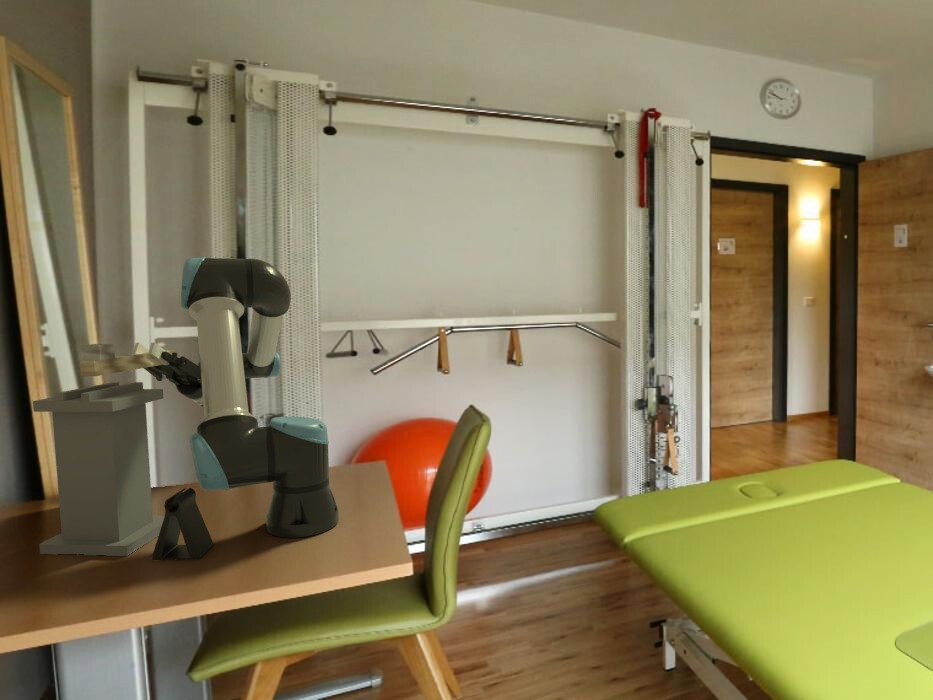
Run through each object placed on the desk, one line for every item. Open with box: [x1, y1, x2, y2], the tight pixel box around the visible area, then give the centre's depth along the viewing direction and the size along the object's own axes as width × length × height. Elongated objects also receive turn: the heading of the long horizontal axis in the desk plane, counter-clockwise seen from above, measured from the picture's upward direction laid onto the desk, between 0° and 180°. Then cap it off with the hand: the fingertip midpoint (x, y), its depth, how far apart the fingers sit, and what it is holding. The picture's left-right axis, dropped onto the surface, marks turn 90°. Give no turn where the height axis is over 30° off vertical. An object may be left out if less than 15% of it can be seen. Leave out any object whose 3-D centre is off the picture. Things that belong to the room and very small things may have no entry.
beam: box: [79, 343, 176, 377], centre depth 120 cm, size 26×4×6 cm, turn 175°
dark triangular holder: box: [151, 487, 214, 561], centre depth 106 cm, size 9×6×12 cm, turn 90°
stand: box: [32, 381, 165, 557], centre depth 112 cm, size 15×18×32 cm
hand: (143, 348), depth 124 cm, fingers closed on beam, 3 cm apart
